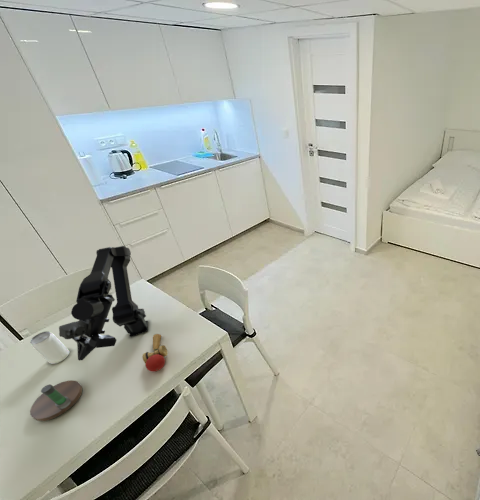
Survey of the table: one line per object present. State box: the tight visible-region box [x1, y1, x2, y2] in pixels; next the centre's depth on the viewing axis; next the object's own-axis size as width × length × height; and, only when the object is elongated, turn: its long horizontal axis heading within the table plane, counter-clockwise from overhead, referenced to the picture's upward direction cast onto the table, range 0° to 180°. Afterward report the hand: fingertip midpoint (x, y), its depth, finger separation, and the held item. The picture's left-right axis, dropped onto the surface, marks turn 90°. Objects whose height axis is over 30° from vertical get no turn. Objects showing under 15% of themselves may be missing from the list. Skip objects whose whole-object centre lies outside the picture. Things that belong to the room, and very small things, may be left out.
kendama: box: [141, 333, 169, 373], centre depth 111 cm, size 8×6×18 cm
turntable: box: [29, 380, 83, 422], centre depth 94 cm, size 13×13×11 cm
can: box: [29, 331, 70, 365], centre depth 109 cm, size 6×6×12 cm
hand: (80, 360), depth 97 cm, fingers closed
